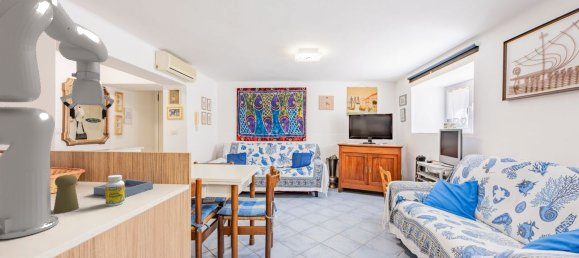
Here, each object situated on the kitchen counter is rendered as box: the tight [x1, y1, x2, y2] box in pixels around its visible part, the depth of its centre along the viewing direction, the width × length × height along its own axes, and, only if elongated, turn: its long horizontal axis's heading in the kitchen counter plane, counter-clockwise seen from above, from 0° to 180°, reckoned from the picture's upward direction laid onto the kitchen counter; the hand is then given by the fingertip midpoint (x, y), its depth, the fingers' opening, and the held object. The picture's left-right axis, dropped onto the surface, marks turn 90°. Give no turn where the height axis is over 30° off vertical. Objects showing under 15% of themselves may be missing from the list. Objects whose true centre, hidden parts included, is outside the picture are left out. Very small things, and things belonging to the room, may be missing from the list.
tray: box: [93, 178, 154, 198], centre depth 98 cm, size 14×14×3 cm
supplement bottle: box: [104, 174, 126, 207], centre depth 84 cm, size 5×5×10 cm
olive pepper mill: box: [52, 174, 80, 214], centre depth 78 cm, size 6×6×11 cm
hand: (88, 118), depth 101 cm, fingers open, 9 cm apart
